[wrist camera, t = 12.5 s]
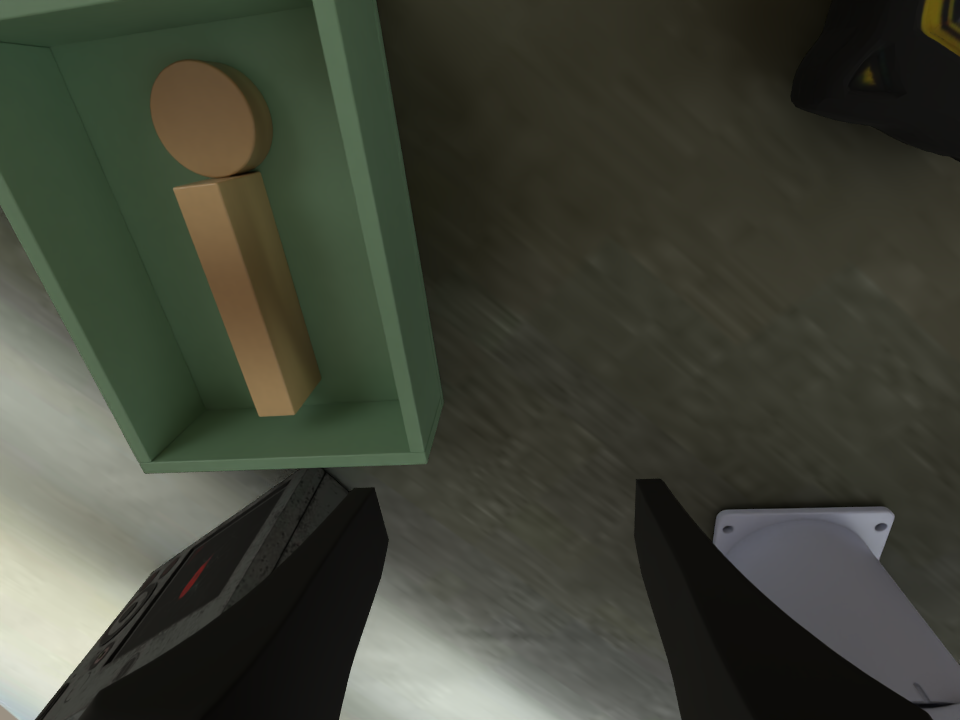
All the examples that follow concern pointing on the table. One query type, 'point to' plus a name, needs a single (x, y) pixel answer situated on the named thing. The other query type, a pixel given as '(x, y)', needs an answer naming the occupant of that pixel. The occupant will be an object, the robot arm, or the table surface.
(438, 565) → the table surface
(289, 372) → the spoon
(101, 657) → the camera
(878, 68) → the tape measure
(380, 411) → the green storage tray
